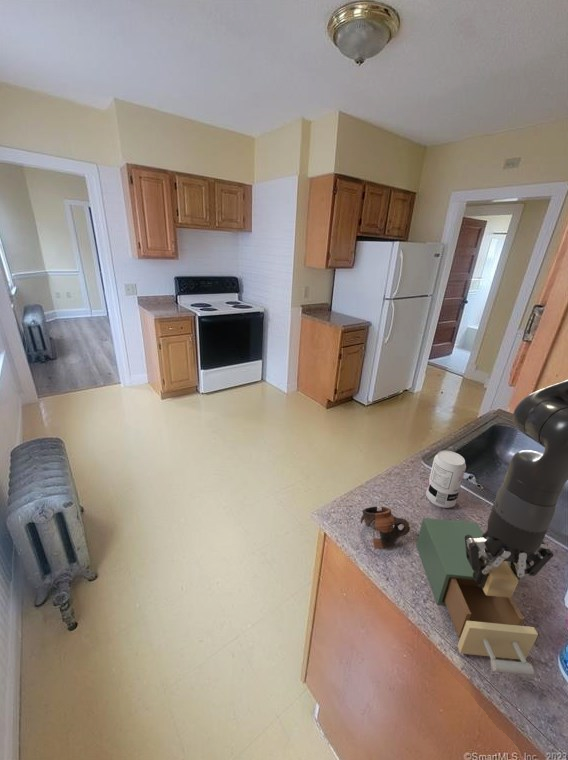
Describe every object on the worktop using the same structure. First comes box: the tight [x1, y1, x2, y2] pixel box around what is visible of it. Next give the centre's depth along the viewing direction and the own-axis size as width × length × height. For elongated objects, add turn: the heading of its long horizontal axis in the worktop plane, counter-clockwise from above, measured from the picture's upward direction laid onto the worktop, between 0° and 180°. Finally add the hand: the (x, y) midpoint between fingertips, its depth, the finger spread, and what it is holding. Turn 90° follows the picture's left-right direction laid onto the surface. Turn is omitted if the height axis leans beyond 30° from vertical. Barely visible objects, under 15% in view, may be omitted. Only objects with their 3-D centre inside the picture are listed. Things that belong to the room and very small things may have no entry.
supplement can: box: [425, 450, 467, 509], centre depth 93 cm, size 8×8×15 cm
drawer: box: [443, 577, 539, 676], centre depth 61 cm, size 18×11×7 cm, turn 175°
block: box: [482, 560, 520, 598], centre depth 58 cm, size 4×4×4 cm
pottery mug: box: [360, 506, 411, 549], centre depth 83 cm, size 12×10×8 cm
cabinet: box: [415, 517, 485, 606], centre depth 72 cm, size 15×13×9 cm
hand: (493, 584), depth 59 cm, fingers closed on block, 4 cm apart
